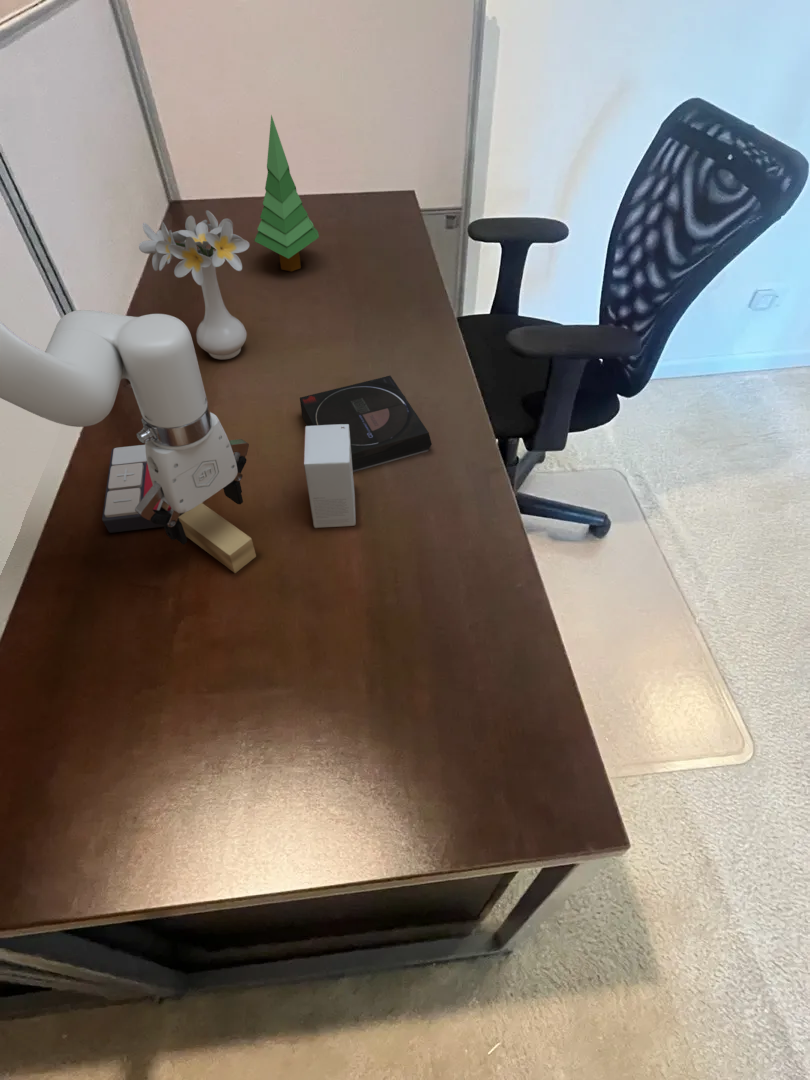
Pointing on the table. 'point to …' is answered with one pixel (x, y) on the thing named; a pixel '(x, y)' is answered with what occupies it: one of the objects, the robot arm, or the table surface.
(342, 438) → the small box
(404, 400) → the portable cd player
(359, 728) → the table surface
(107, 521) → the calculator
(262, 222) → the decorative tree
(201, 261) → the flower vase
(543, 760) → the table surface
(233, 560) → the wood bar
